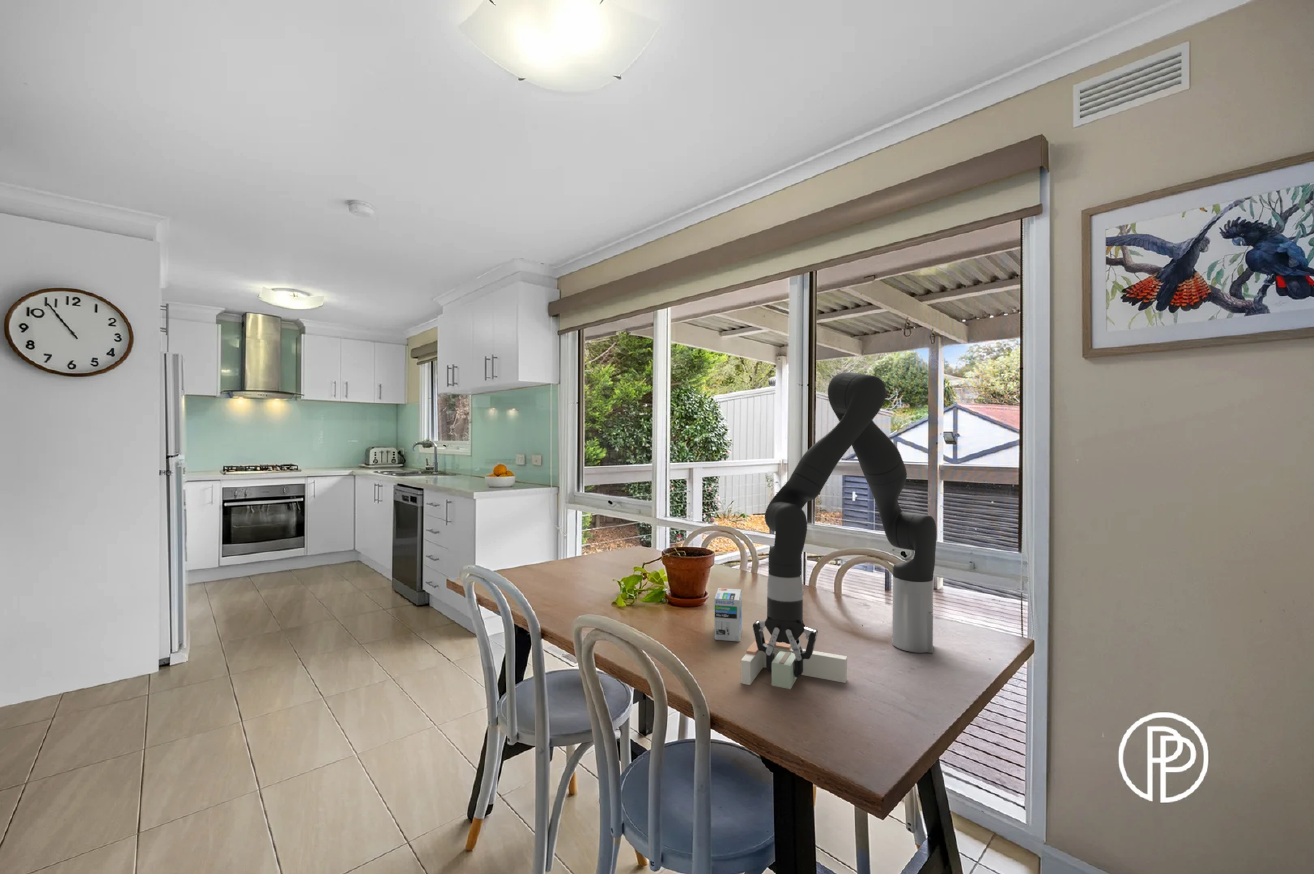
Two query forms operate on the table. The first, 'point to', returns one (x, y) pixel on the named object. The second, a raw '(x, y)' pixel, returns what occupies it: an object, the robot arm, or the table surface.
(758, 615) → the table surface
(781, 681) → the block
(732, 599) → the light bulb box
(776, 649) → the corner wall
